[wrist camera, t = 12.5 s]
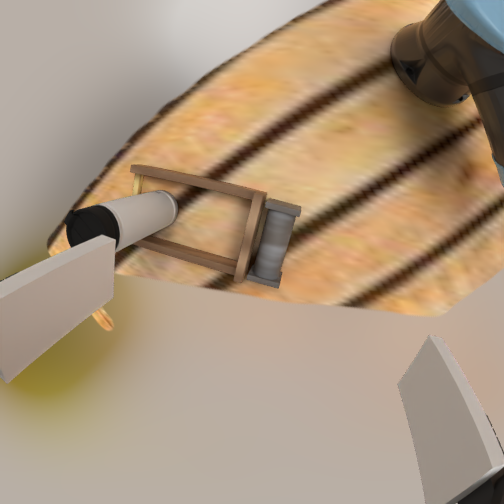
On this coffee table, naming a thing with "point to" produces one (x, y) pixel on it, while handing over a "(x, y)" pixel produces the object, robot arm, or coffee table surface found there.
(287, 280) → the coffee table surface
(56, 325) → the robot arm
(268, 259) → the bay
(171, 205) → the travel mug
